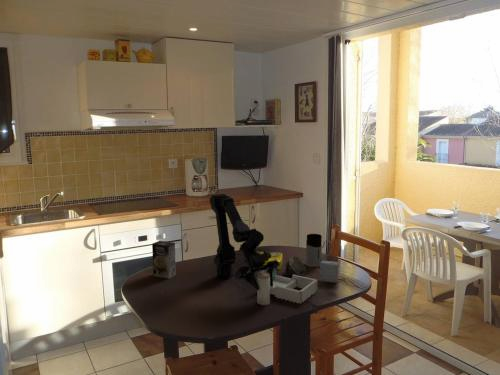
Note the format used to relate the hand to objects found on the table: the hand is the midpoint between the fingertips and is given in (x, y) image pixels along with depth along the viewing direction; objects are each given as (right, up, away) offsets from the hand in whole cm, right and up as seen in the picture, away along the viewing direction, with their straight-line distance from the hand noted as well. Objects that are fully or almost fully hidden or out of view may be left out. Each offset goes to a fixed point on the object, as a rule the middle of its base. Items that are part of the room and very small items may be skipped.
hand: (265, 288), depth 175 cm
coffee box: (-47, -2, +33) cm, 58 cm away
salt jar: (-1, -6, +2) cm, 7 cm away
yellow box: (+3, +1, +49) cm, 49 cm away
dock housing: (+13, -5, +11) cm, 18 cm away
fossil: (+16, -1, +34) cm, 38 cm away
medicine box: (+30, -3, +26) cm, 40 cm away
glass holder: (+29, +1, +47) cm, 55 cm away
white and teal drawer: (+6, -4, +15) cm, 17 cm away
